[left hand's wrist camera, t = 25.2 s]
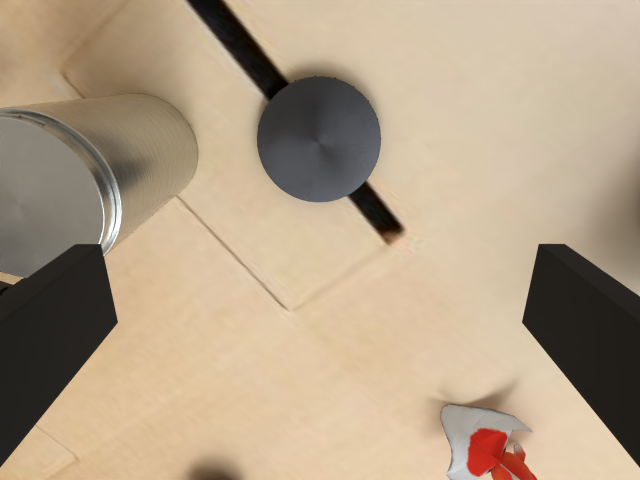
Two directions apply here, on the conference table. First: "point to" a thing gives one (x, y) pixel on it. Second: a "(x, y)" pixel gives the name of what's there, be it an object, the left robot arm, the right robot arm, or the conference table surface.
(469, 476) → the fish
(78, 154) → the jar
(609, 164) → the conference table surface
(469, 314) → the conference table surface
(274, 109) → the lid
